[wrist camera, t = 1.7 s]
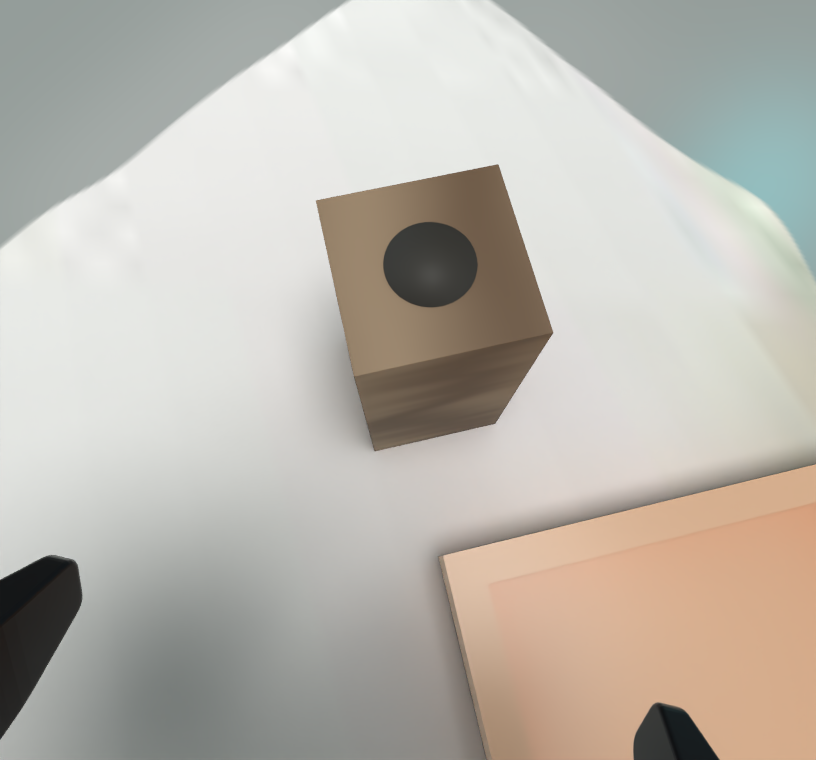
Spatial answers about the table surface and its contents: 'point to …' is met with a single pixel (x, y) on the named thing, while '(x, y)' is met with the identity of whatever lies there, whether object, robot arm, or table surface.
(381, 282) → the walnut block
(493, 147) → the table surface
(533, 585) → the tray
